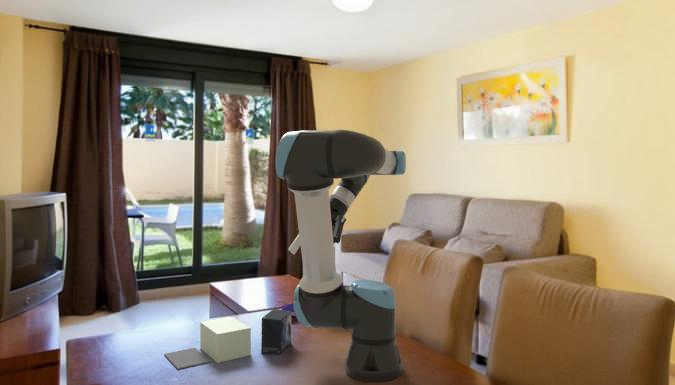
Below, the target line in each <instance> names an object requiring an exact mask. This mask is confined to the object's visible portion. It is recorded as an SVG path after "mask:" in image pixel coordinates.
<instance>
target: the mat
mask: <svg viewBox="0 0 675 385" xmlns="http://www.w3.org/2000/svg"><path fill="white" fill-rule="evenodd" d="M163 355H164V357H165V359H167V360H168V361H169V362H170V363H171V364H172V366H174V367H175V368H176V370H177V371H179V370H182V369H183V370H184V369H187V368H190V367H197V366H200V365H205V364H210V363H211V360H210V359H209V358H207V356H205V355H204V354H203V353H202V352H201V351H200V350H199V349H197V348H196V347H191V348H186V349H181V350H177V351H173V352H167V353H164V354H163Z"/></svg>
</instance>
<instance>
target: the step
mask: <svg viewBox="0 0 675 385" xmlns="http://www.w3.org/2000/svg"><path fill="white" fill-rule="evenodd" d="M199 328H200V329H199V331H200V335H199V336H200V339H199V340H200V349H201V351H203V353H205V354H207V355H208V356H209V357H210V358H211V359H212V360H213V361H215V362H216V363H217V364H219V363H223V362H228V361H232V360H236V359H241V358H245V357H249V356H251V355H252V346H251V345H252V344H251V343H252V340H251V339H252V337H251V336H252V335H251V332H252V331H251V330H252V329H251V327H250V326H248V325H246V324H245V323H243V322H242V321H240V320H238V319H236V318H235V317H233V316H228V317H221V318H217V319H211V320H205V321H200V324H199Z"/></svg>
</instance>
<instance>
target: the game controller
mask: <svg viewBox="0 0 675 385" xmlns="http://www.w3.org/2000/svg"><path fill="white" fill-rule="evenodd" d="M280 302H282V303H285V304H283V305H281V307H282V308H281V309H280V310H288V311H291V313H295V310H294V302H289V303H288V304H287V303H286V302H285V301H283V300H281V301H278V302H277V303H276V304H275V306H277V304H278V303H280ZM291 319H293V320H294V318H293V314H291ZM297 321H298V319H297ZM297 321H296V320H294V322H297ZM298 322H299V321H298Z"/></svg>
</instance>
